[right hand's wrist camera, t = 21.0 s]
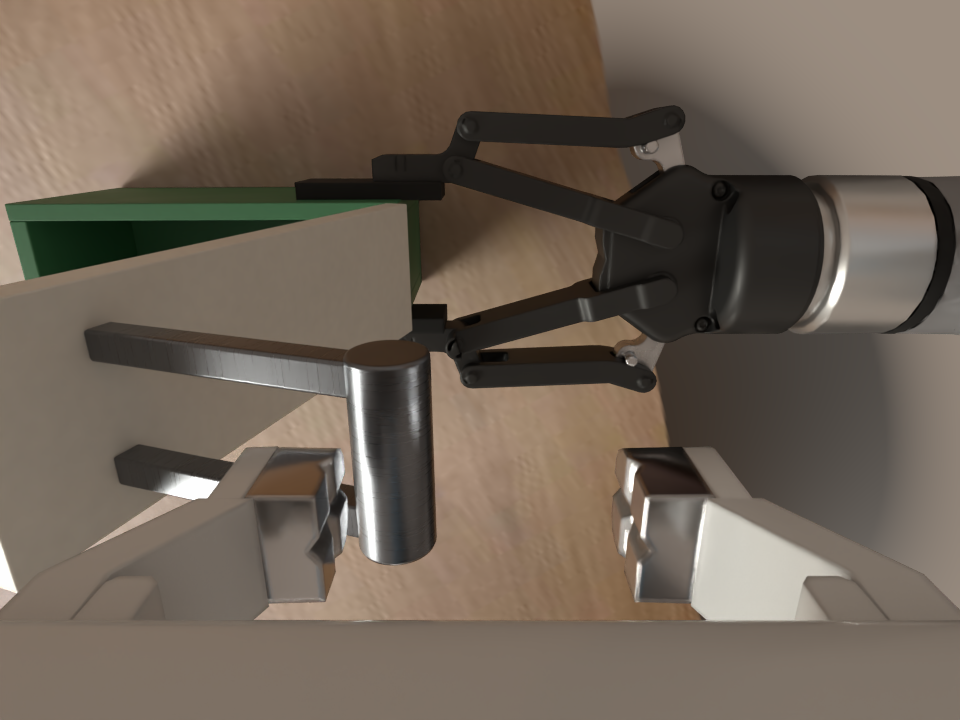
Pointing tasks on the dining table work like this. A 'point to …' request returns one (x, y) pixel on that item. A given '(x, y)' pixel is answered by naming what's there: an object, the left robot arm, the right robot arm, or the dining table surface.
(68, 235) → the chest
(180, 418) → the door
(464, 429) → the dining table surface
